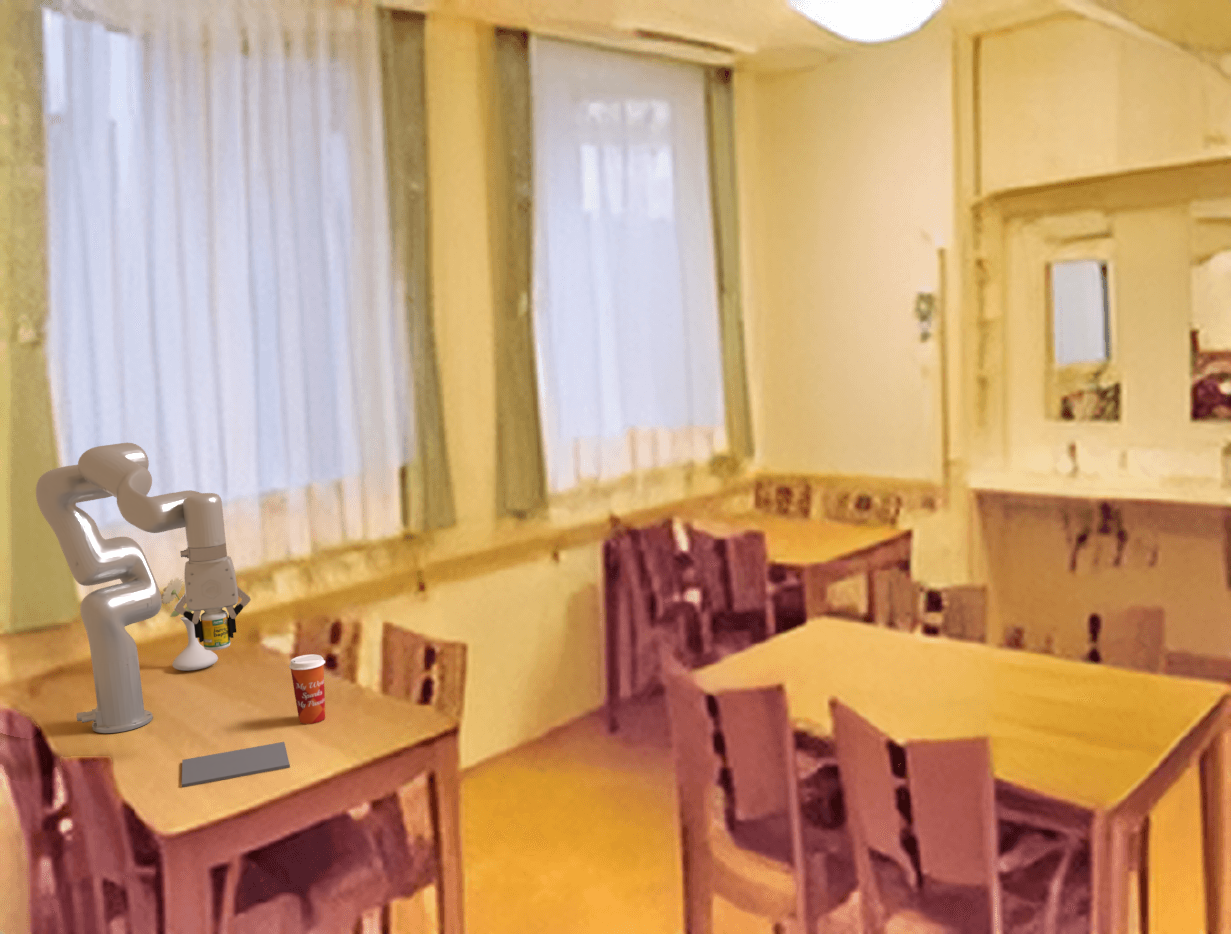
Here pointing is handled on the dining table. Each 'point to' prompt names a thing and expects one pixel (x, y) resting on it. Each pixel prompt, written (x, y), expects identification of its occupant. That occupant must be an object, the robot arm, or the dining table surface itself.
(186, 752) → the dining table surface
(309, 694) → the paper cup
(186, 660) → the flower in vase
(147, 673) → the dining table surface
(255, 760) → the charcoal mat
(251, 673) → the dining table surface
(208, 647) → the supplement bottle
